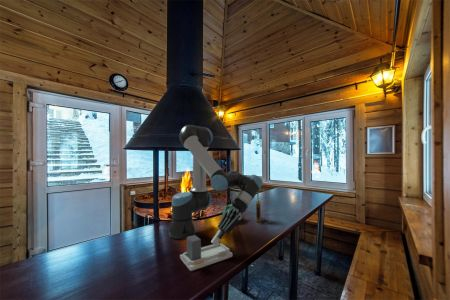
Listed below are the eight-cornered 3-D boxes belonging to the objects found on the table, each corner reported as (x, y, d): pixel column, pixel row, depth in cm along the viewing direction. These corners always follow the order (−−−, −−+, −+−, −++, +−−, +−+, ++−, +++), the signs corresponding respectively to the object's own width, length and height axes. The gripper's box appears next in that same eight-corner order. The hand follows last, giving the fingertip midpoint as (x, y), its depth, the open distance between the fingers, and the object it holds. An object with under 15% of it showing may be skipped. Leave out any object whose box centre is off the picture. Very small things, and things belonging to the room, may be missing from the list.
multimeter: (271, 225, 127) (270, 194, 128) (256, 224, 129) (255, 193, 130) (271, 218, 141) (270, 190, 142) (257, 217, 143) (256, 190, 144)
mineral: (216, 217, 146) (216, 203, 147) (236, 215, 151) (236, 202, 151) (224, 225, 129) (224, 209, 129) (246, 222, 133) (246, 207, 134)
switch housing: (218, 246, 98) (218, 241, 98) (232, 256, 88) (232, 250, 88) (180, 258, 87) (180, 252, 87) (190, 271, 77) (190, 264, 77)
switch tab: (195, 253, 88) (195, 234, 88) (201, 258, 83) (200, 239, 83) (186, 255, 86) (186, 236, 86) (192, 261, 81) (191, 241, 81)
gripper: (254, 209, 94) (225, 254, 85) (238, 204, 105) (212, 243, 96) (245, 199, 92) (214, 244, 82) (230, 195, 103) (201, 234, 94)
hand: (213, 243), depth 89 cm, fingers closed
